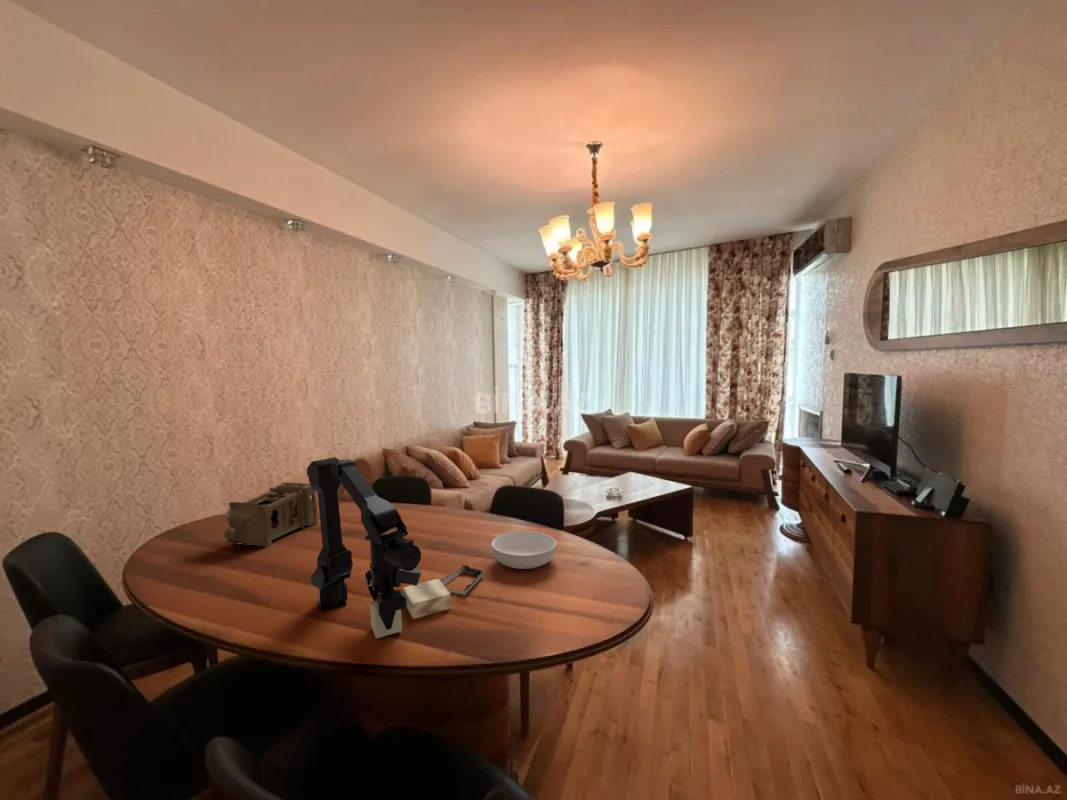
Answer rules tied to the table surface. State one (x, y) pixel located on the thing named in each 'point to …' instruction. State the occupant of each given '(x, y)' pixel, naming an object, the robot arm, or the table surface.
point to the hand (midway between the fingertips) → (386, 622)
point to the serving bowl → (524, 549)
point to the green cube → (379, 626)
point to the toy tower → (271, 514)
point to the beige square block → (427, 598)
